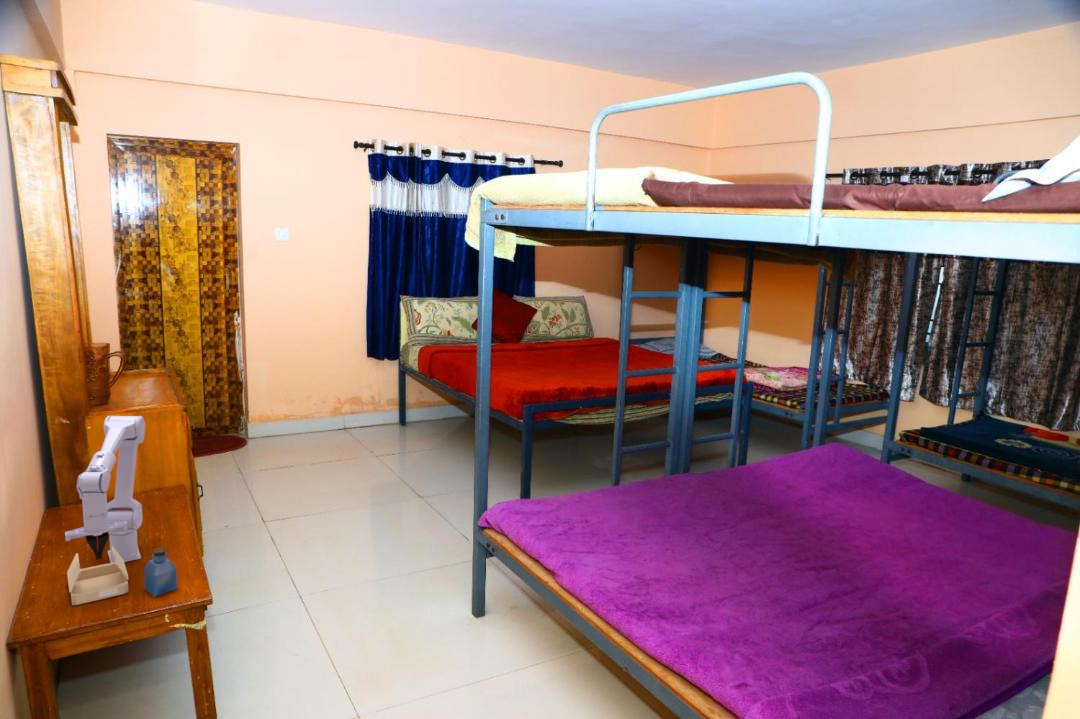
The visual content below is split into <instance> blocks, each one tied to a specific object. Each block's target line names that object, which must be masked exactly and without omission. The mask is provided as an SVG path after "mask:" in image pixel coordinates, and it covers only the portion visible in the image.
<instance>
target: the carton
mask: <svg viewBox="0 0 1080 719" xmlns="http://www.w3.org/2000/svg"><path fill="white" fill-rule="evenodd" d="M80 571H81V573H80V575H79V577H78V579H77V581H76V583H75V585H74V587H73V590H72V592H70V598H71V605H72V606H78V605H82V604H86V603H91V602H96V601H99V600H104V599H108V598H111V597H116V596H120V595H125V594H128V593H129V582H128V580H127V579H126V577H125V576H124V575H123V573H122V572H121V571H120V569H119V568H118V567H117V565H116V563H115V562H113V563H110V562H109V563H104V564H100V565H99V564H98V565H93V566H89V567H86V568H80Z"/></svg>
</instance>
